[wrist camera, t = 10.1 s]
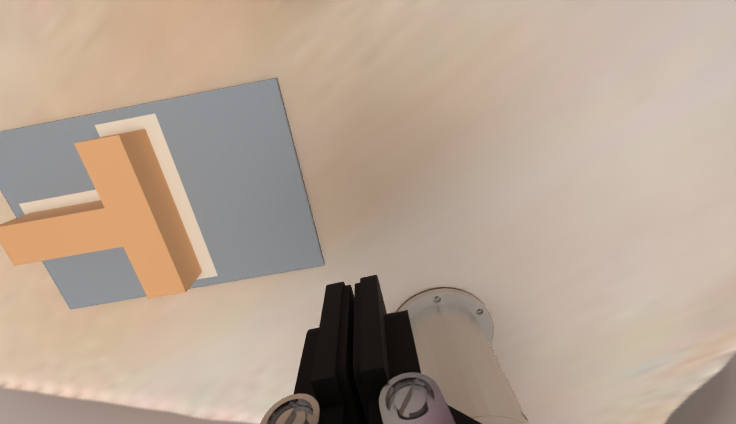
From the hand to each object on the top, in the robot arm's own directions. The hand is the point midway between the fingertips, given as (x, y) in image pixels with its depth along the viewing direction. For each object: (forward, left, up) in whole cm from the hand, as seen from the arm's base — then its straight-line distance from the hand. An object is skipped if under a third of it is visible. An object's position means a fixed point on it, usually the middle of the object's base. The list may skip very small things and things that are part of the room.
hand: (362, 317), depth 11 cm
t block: (-2, +27, -25) cm, 37 cm away
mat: (-1, +21, -26) cm, 33 cm away
